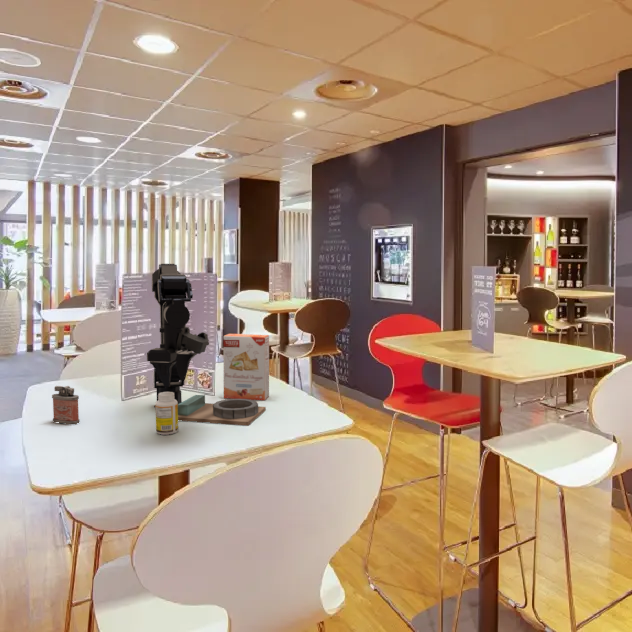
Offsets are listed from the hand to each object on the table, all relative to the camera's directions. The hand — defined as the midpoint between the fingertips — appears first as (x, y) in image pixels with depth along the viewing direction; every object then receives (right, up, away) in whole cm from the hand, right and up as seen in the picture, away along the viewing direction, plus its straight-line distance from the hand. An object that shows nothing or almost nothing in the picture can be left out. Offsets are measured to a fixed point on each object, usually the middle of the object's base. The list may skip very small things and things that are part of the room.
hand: (175, 383), depth 135 cm
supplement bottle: (-2, -13, 0) cm, 13 cm away
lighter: (-32, -12, +8) cm, 35 cm away
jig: (+9, -11, +16) cm, 21 cm away
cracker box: (+14, -10, +36) cm, 40 cm away
